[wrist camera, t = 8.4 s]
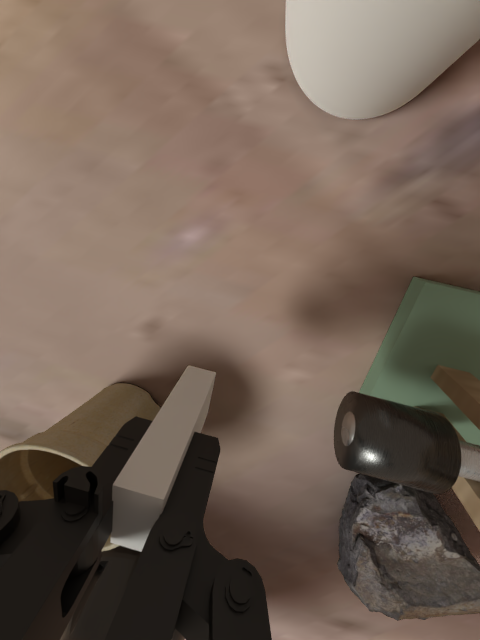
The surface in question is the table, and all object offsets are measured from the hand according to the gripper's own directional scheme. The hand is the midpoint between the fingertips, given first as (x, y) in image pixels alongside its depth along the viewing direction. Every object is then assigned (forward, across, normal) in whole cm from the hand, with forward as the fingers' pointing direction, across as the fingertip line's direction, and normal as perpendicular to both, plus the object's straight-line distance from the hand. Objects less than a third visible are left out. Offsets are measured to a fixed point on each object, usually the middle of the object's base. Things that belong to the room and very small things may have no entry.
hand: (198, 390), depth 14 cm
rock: (+7, +18, -15) cm, 25 cm away
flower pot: (+7, -7, -10) cm, 14 cm away
